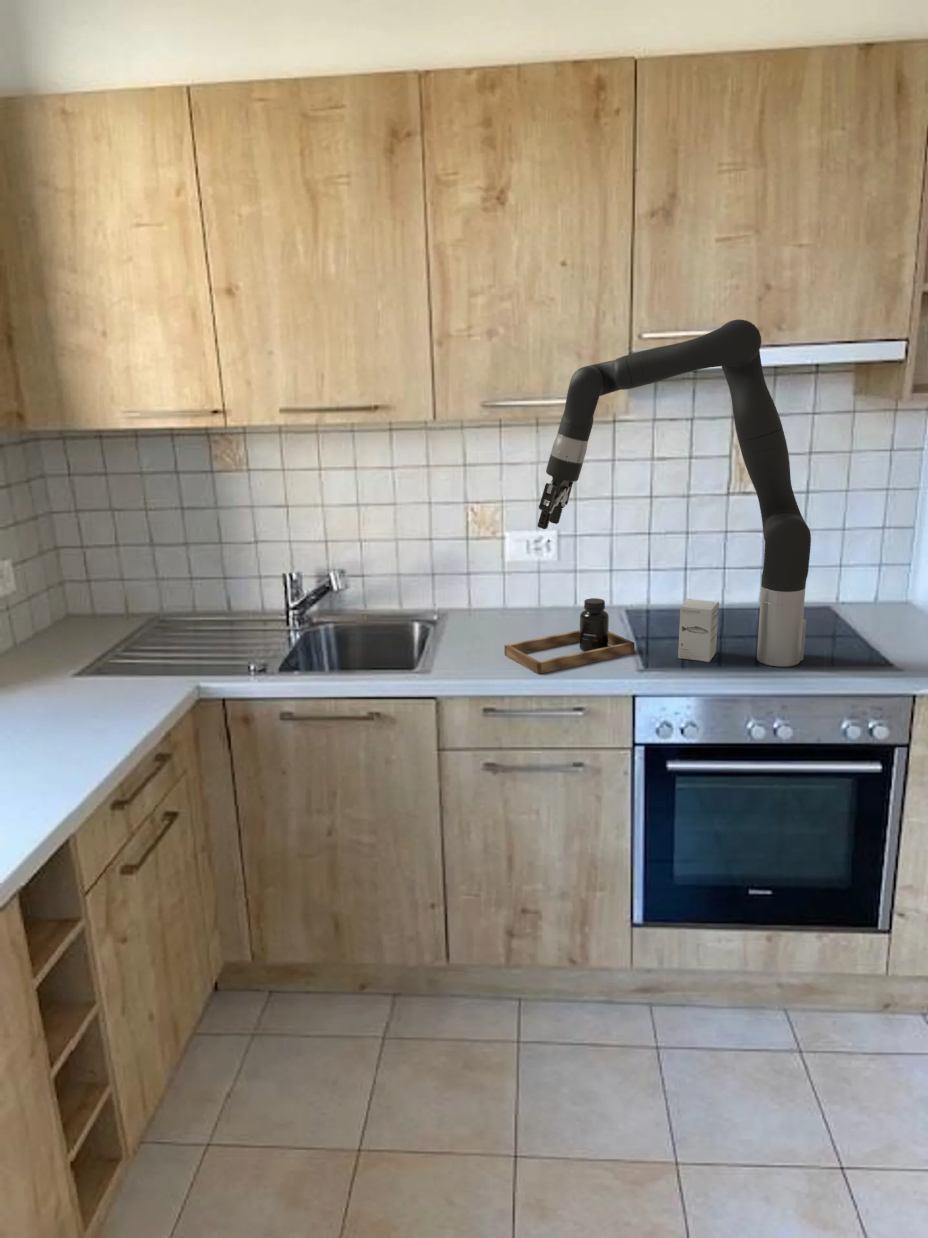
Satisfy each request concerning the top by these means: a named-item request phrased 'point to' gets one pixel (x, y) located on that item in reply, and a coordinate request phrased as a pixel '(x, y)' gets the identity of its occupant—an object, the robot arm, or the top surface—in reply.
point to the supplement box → (698, 630)
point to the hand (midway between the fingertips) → (547, 525)
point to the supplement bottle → (593, 625)
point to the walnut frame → (518, 650)
